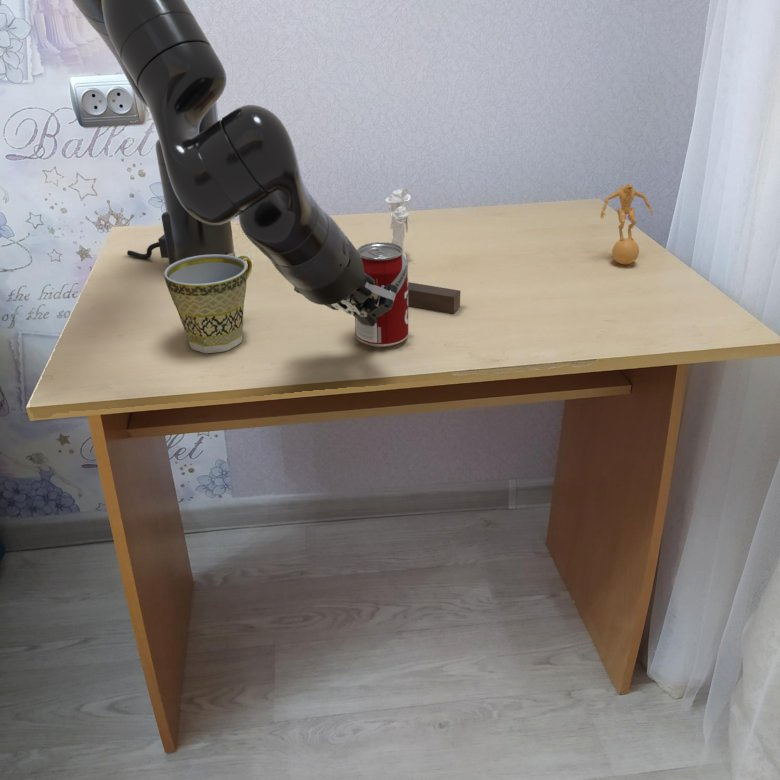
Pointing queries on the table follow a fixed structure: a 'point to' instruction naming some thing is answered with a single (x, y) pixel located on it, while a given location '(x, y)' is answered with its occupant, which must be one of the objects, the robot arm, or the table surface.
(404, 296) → the soda can
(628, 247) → the figurine
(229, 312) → the ceramic cup
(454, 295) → the rail
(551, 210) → the table surface
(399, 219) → the hat wearing toy figure
